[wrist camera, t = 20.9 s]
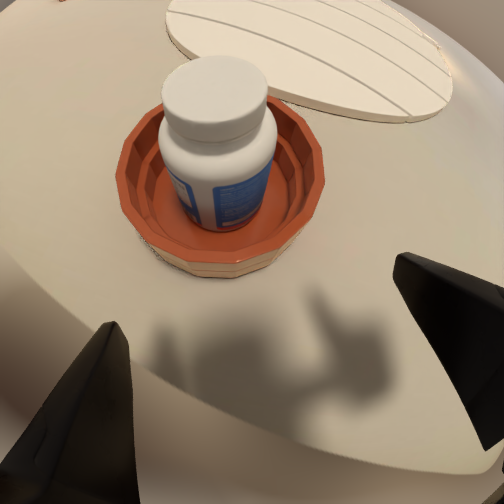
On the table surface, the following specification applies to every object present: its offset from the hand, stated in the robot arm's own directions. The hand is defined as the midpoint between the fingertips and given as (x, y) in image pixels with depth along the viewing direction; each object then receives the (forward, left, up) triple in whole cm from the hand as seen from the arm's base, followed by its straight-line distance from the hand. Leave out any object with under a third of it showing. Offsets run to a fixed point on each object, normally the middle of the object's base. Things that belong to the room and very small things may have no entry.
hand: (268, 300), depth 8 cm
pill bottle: (+4, +7, -9) cm, 12 cm away
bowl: (+4, +7, -9) cm, 12 cm away
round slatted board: (+32, +20, -10) cm, 38 cm away
